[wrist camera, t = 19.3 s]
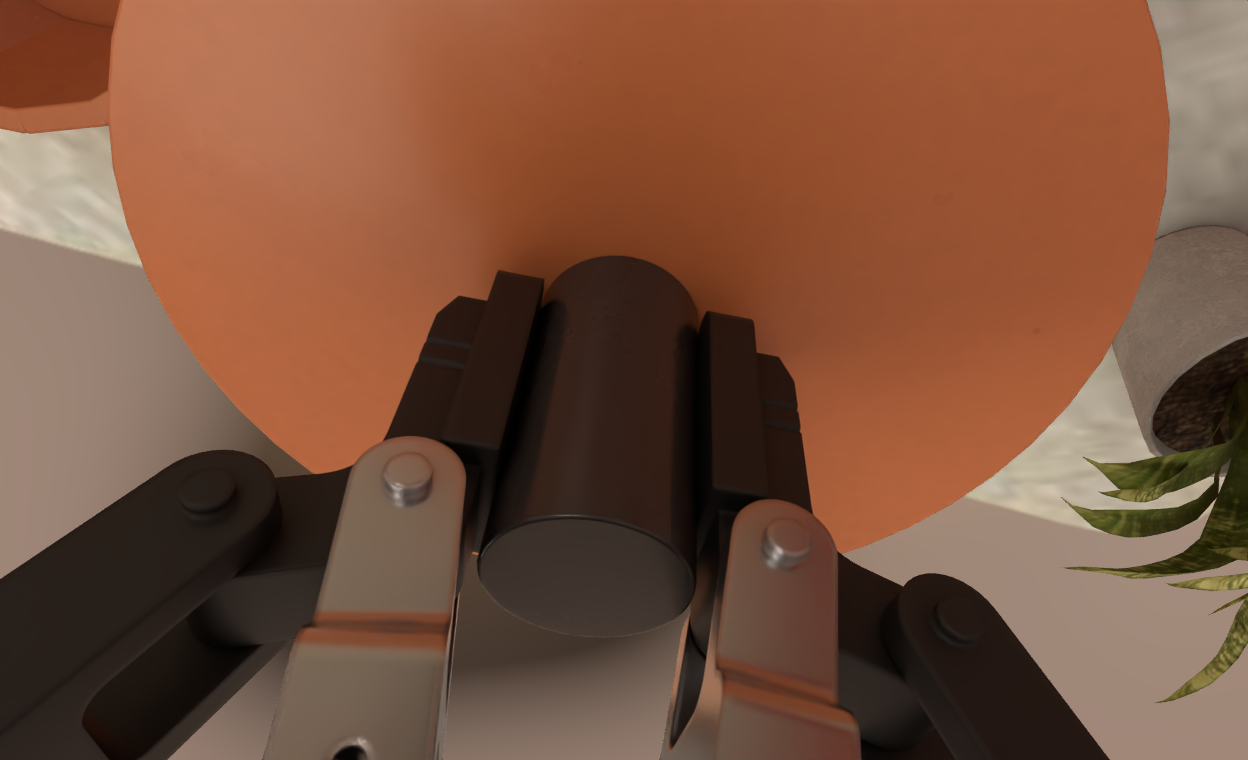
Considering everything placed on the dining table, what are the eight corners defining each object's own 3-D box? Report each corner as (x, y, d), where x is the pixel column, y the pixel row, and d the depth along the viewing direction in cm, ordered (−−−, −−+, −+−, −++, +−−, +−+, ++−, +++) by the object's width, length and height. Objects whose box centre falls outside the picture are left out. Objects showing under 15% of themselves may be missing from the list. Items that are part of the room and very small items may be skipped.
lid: (-37, -537, 7) (-1216, -896, 3) (1453, -154, 8) (2311, 28, 4) (240, 482, 18) (91, 742, 14) (872, 589, 19) (924, 861, 15)
